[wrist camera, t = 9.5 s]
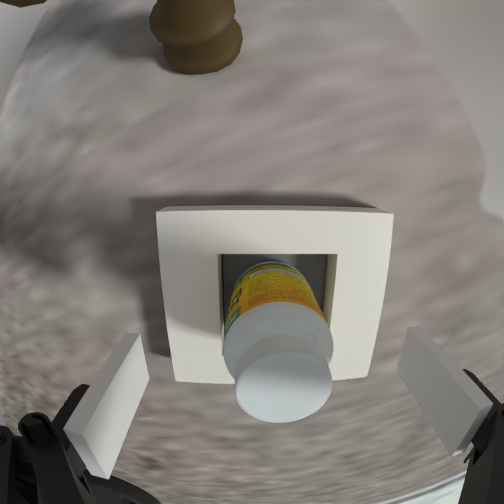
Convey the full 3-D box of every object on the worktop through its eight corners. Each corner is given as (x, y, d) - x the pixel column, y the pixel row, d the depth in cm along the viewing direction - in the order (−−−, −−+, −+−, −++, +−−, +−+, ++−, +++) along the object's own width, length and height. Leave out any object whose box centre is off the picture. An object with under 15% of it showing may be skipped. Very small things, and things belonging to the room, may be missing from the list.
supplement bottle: (307, 329, 21) (338, 428, 12) (232, 331, 21) (222, 434, 12) (312, 257, 19) (359, 334, 10) (229, 258, 19) (211, 339, 10)
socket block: (181, 361, 22) (175, 381, 20) (167, 206, 19) (156, 211, 16) (357, 358, 22) (366, 376, 20) (377, 208, 19) (393, 213, 17)
